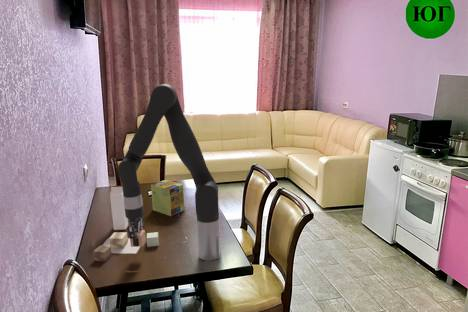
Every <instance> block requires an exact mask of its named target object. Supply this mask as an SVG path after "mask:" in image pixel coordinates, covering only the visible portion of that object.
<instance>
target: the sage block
mask: <svg viewBox="0 0 468 312" xmlns="http://www.w3.org/2000/svg"><path fill="white" fill-rule="evenodd" d="M159 239H160V238H159V231H157V232H156V231H155V232H147V233H146V245H147V248H151V247H157V246H160V243H159Z"/></svg>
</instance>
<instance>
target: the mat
mask: <svg viewBox="0 0 468 312" xmlns="http://www.w3.org/2000/svg"><path fill="white" fill-rule="evenodd" d="M109 238H110V237H108V238H107V239H106V240H105V241H104V243H102V245H101V246H110V241H109ZM140 248H141V247H131V244H130V237H129V238H128V243H127V245H126V246H125V247H124V249H111V254H137V253H138V252H139V250H140Z"/></svg>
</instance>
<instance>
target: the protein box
mask: <svg viewBox="0 0 468 312" xmlns="http://www.w3.org/2000/svg"><path fill="white" fill-rule="evenodd" d="M150 190H151V191H150V192H151V203H152V211H154V212H158V213H160V214H163V215H166V216H169V217H172V216H175V215H177V214H180V213H181V212H184V211H185V199H184V198H185V196H184V195H185V193H184V184H183V183H178V182H174V181H170V180H167V179H164V180H161V181H157V182H155V183H151V184H150Z"/></svg>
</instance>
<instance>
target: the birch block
mask: <svg viewBox="0 0 468 312" xmlns="http://www.w3.org/2000/svg"><path fill="white" fill-rule="evenodd" d="M108 238H109V241H110V247H111V249H124V247H125V246H126V245H127V243H128V231H127V232H126V231H125V232H124V231H123V232H122V231H121V232H120V231H119V232H118V231H116V232H115V231H114V232H113V233H112V234H111V235H110V237H108Z"/></svg>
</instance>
